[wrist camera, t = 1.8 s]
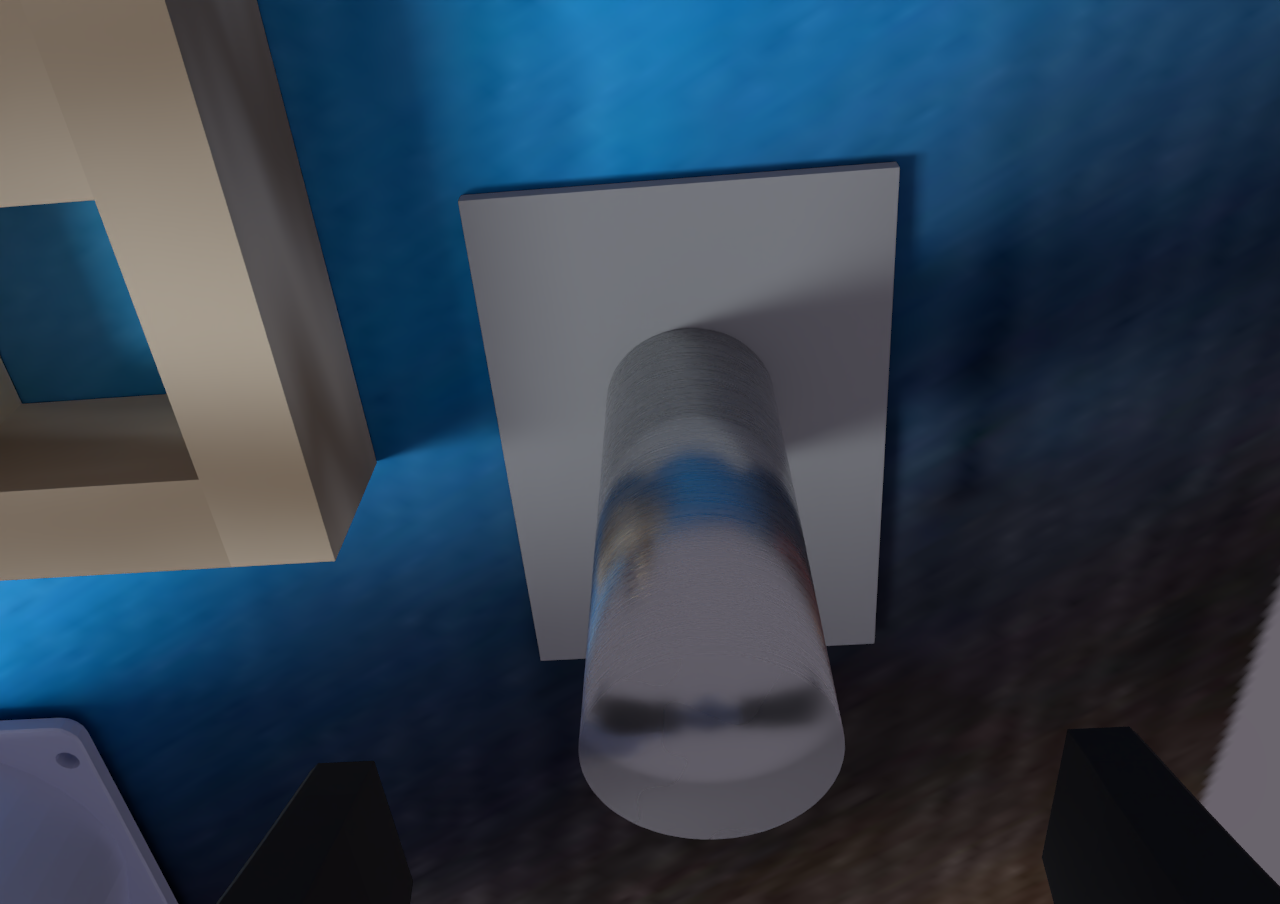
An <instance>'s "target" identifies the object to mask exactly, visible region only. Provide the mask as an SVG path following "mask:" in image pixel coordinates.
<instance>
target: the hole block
mask: <svg viewBox="0 0 1280 904" xmlns="http://www.w3.org/2000/svg"><path fill="white" fill-rule="evenodd" d="M89 200H95V203H96V205H97V208H98V211H99V213H100V216H101V219H102V221H103V224H104V227H105V229H106V232H107V235H108V237H109V240H110V243H111V245H112V248H113V251H114V253H115V256H116V259H117V261H118V264H119V267H120V270H121V272H122V275H123V278H124V280H125V283H126V286H127V288H128V291H129V294H130V296H131V299H132V302H133V304H134V307H135V310H136V312H137V315H138V318H139V320H140V323H141V326H142V328H143V331H144V334H145V336H146V339H147V342H148V345H149V347H150V350H151V353H152V355H153V358H154V361H155V363H156V366H157V369H158V371H159V374H160V377H161V379H162V382H163V385H164V387H165V390H166V393H167V394H161V395H146V396H132V397H117V398H102V399H87V400H72V401H58V402H43V403H28V404H22V403H21V401H20V398H19V396H18V394H17V392H16V390H15V388H14V385H13V383H12V381H11V379H10V377H9V375H8V372H7V370H6V368H5V366H4V364H3V362H2V359H1V357H0V581H1V580H18V579H35V578H53V577H70V576H87V575H104V574H122V573H139V572H156V571H173V570H191V569H208V568H225V567H242V566H260V565H277V564H294V563H311V562H329V561H335V560H336V558H337V555H338V553H339V551H340V548H341V546H342V544H343V541H344V539H345V536H346V534H347V532H348V529H349V527H350V525H351V522H352V520H353V518H354V515H355V513H356V510H357V508H358V506H359V503H360V501H361V499H362V496H363V494H364V492H365V489H366V487H367V484H368V482H369V480H370V477H371V475H372V473H373V470H374V468H375V465H376V463H377V462H376V458H375V454H374V450H373V446H372V442H371V439H370V435H369V431H368V427H367V423H366V419H365V415H364V412H363V408H362V404H361V400H360V396H359V392H358V389H357V385H356V381H355V377H354V373H353V369H352V365H351V362H350V358H349V354H348V350H347V346H346V342H345V338H344V335H343V331H342V327H341V323H340V319H339V315H338V311H337V308H336V304H335V300H334V296H333V292H332V288H331V285H330V281H329V277H328V273H327V269H326V265H325V261H324V258H323V254H322V250H321V246H320V242H319V238H318V234H317V231H316V227H315V223H314V219H313V215H312V211H311V207H310V204H309V200H308V196H307V192H306V188H305V184H304V181H303V177H302V173H301V169H300V165H299V161H298V157H297V154H296V150H295V146H294V142H293V138H292V134H291V130H290V127H289V123H288V119H287V115H286V111H285V107H284V103H283V100H282V96H281V92H280V88H279V84H278V80H277V77H276V73H275V69H274V65H273V61H272V57H271V53H270V50H269V46H268V42H267V38H266V34H265V30H264V26H263V23H262V19H261V15H260V11H259V7H258V3H257V0H0V207H12V206H25V205H38V204H51V203H64V202H76V201H89Z"/></svg>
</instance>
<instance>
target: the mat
mask: <svg viewBox="0 0 1280 904" xmlns="http://www.w3.org/2000/svg"><path fill="white" fill-rule="evenodd" d="M899 172H900V167H899V166H898V164H897V163H896V162H886V163H873V164H860V165H847V166H834V167H821V168H808V169H795V170H782V171H769V172H756V173H743V174H730V175H717V176H704V177H691V178H678V179H665V180H652V181H639V182H626V183H613V184H600V185H587V186H574V187H561V188H548V189H535V190H522V191H509V192H496V193H483V194H470V195H461V196H460V198H459V200H458V204H459V210H460V215H461V221H462V226H463V232H464V237H465V243H466V248H467V254H468V260H469V265H470V271H471V276H472V282H473V287H474V293H475V298H476V304H477V309H478V315H479V321H480V326H481V332H482V337H483V343H484V348H485V354H486V359H487V365H488V370H489V376H490V382H491V387H492V393H493V398H494V404H495V409H496V415H497V420H498V426H499V431H500V437H501V443H502V448H503V454H504V459H505V465H506V470H507V476H508V481H509V487H510V492H511V498H512V504H513V509H514V515H515V520H516V526H517V531H518V537H519V542H520V548H521V553H522V559H523V564H524V570H525V576H526V581H527V587H528V592H529V598H530V603H531V609H532V614H533V620H534V625H535V631H536V637H537V642H538V648H539V653H540V659H541V661H547V660H567V659H586V649H587V637H588V624H589V612H590V599H591V587H592V575H593V562H594V550H595V537H596V525H597V512H598V500H599V487H600V475H601V463H602V450H603V438H604V425H605V413H606V400H607V391H608V387H609V383H610V380H611V378H612V375H613V373H614V371H615V369H616V368H617V366H618V365H619V363H620V362H621V361H622V359H623V358H624V357H625V356H626V355H627V354H628V353H629V352H630V351H631V350H632V349H633V348H634V347H636V346H637V345H638V344H640V343H641V342H643V341H645V340H646V339H648V338H650V337H652V336H654V335H657V334H660V333H662V332H666V331H670V330H674V329H681V328H703V329H710V330H714V331H719V332H722V333H724V334H727V335H730V336H732V337H734V338H735V339H737V340H739V341H741V342H742V343H744V344H745V345H746V346H748V347H749V348H750V349H751V350H752V351H753V352H754V353H755V354H756V355H757V356H758V357H759V358H760V360H761V361H762V362H763V364H764V365H765V367H766V369H767V370H768V373H769V375H770V378H771V380H772V385H773V389H774V393H775V398H776V403H777V408H778V413H779V418H780V423H781V428H782V433H783V438H784V442H785V447H786V452H787V457H788V462H789V467H790V472H791V477H792V482H793V487H794V491H795V496H796V501H797V506H798V511H799V516H800V521H801V526H802V531H803V536H804V541H805V545H806V550H807V555H808V560H809V565H810V570H811V575H812V580H813V585H814V590H815V594H816V599H817V604H818V609H819V614H820V619H821V624H822V629H823V634H824V639H825V643H826V646H835V645H854V644H874V640H875V621H876V602H877V584H878V565H879V546H880V527H881V509H882V490H883V471H884V453H885V434H886V415H887V396H888V378H889V359H890V340H891V322H892V303H893V284H894V265H895V247H896V228H897V209H898V191H899Z"/></svg>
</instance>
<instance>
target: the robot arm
mask: <svg viewBox="0 0 1280 904" xmlns="http://www.w3.org/2000/svg"><path fill="white" fill-rule="evenodd" d="M1042 859H1043V863H1044V867H1045V871H1046V874H1047V878H1048V882H1049V886H1050V890H1051V893H1052V897H1053V901H1054V904H1280V886H1279V885H1278V884H1277V883H1276V882H1275V881H1274V880H1273V879H1272V878H1271V877H1270V876H1269V875H1268V874H1267V873H1266V872H1265V871H1264V870H1263V869H1262V868H1261V867H1260V866H1259V865H1258V864H1257V863H1256V862H1255V861H1254V860H1253V858H1252V857H1251V856H1250V855H1249V854H1248V853H1247V852H1246V851H1245V850H1244V849H1243V848H1242V847H1241V846H1240V845H1239V844H1238V843H1237V842H1236V841H1235V840H1234V838H1233V837H1232V836H1230V834H1229V833H1228V832H1227V831H1226V830H1225V829H1224V828H1223V827H1222V826H1221V825H1220V824H1219V823H1218V821H1217V820H1216V819H1215V818H1214V817H1213V816H1212V815H1211V814H1210V813H1209V812H1208V811H1207V810H1206V809H1205V808H1204V806H1203V805H1202V804H1201V803H1200V802H1199V801H1198V800H1197V799H1196V798H1195V797H1194V796H1193V795H1192V793H1191V792H1190V791H1189V790H1188V789H1187V788H1186V787H1185V786H1184V785H1183V784H1182V783H1181V781H1180V780H1179V779H1178V778H1177V777H1176V776H1175V775H1174V774H1173V773H1172V772H1171V770H1170V769H1169V768H1168V767H1167V766H1166V765H1165V764H1164V763H1163V762H1162V761H1161V759H1160V758H1159V757H1158V756H1157V755H1156V754H1155V753H1154V752H1153V751H1152V750H1151V748H1150V747H1149V746H1148V745H1147V744H1146V743H1145V742H1144V741H1143V740H1142V739H1141V738H1140V736H1139V735H1138V734H1137V733H1135V732H1134V731H1133V730H1132V729H1131V728H1130V727H1111V728H1089V729H1068V730H1067V735H1066V740H1065V745H1064V750H1063V755H1062V760H1061V765H1060V770H1059V775H1058V780H1057V785H1056V790H1055V795H1054V800H1053V805H1052V810H1051V815H1050V820H1049V825H1048V830H1047V835H1046V840H1045V845H1044V850H1043V855H1042ZM412 884H413V880H412V877H411V874H410V871H409V868H408V865H407V862H406V858H405V855H404V852H403V849H402V846H401V843H400V840H399V837H398V834H397V830H396V827H395V824H394V821H393V818H392V815H391V812H390V809H389V806H388V802H387V799H386V796H385V793H384V790H383V787H382V784H381V781H380V778H379V774H378V771H377V768H376V765H375V762H374V761H359V762H337V763H318V764H317V765H316V766H315V767H314V768H313V769H312V770H311V771H310V772H309V774H308V775H307V777H306V778H305V780H304V781H303V782H302V784H301V785H300V787H299V788H298V790H297V791H296V792H295V794H294V795H293V797H292V798H291V800H290V801H289V802H288V804H287V805H286V807H285V808H284V810H283V811H282V812H281V814H280V815H279V817H278V818H277V820H276V821H275V822H274V824H273V825H272V827H271V828H270V830H269V831H268V832H267V834H266V835H265V837H264V838H263V839H262V841H261V842H260V844H259V845H258V847H257V848H256V849H255V851H254V852H253V854H252V855H251V856H250V858H249V859H248V860H247V862H246V863H245V865H244V866H243V867H242V869H241V870H240V872H239V873H238V874H237V876H236V877H235V878H234V880H233V881H232V883H231V884H230V885H229V887H228V888H227V889H226V891H225V892H224V893H223V895H222V896H221V897H220V899H219V900H218V901H217V903H216V904H410V899H411V892H412ZM0 904H178V902H177V901H176V899H175V897H174V895H173V893H172V891H171V889H170V887H169V885H168V883H167V881H166V880H165V878H164V876H163V874H162V872H161V870H160V868H159V866H158V864H157V862H156V861H155V859H154V857H153V855H152V853H151V851H150V849H149V847H148V845H147V843H146V842H145V840H144V838H143V836H142V834H141V832H140V830H139V828H138V826H137V824H136V822H135V821H134V819H133V817H132V815H131V813H130V811H129V809H128V807H127V805H126V803H125V802H124V800H123V798H122V796H121V794H120V792H119V790H118V788H117V786H116V784H115V782H114V781H113V779H112V777H111V775H110V773H109V771H108V769H107V767H106V765H105V763H104V762H103V760H102V758H101V756H100V754H99V752H98V750H97V748H96V746H95V744H94V742H93V741H92V739H91V737H90V735H89V733H88V731H87V730H86V729H85V728H84V726H83V725H81V724H80V723H78V722H77V721H74V720H72V719H69V718H43V719H23V720H3V721H0Z"/></svg>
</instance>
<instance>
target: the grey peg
mask: <svg viewBox="0 0 1280 904" xmlns="http://www.w3.org/2000/svg"><path fill="white" fill-rule="evenodd" d="M844 752H845V739H844V732H843V727H842V722H841V717H840V712H839V707H838V702H837V697H836V692H835V688H834V683H833V678H832V673H831V668H830V663H829V658H828V653H827V648H826V643H825V639H824V634H823V629H822V624H821V619H820V614H819V609H818V604H817V599H816V594H815V590H814V585H813V580H812V575H811V570H810V565H809V560H808V555H807V550H806V545H805V541H804V536H803V531H802V526H801V521H800V516H799V511H798V506H797V501H796V496H795V491H794V487H793V482H792V477H791V472H790V467H789V462H788V457H787V452H786V447H785V442H784V438H783V433H782V428H781V423H780V418H779V413H778V408H777V403H776V398H775V393H774V389H773V385H772V380H771V378H770V375H769V373H768V370H767V369H766V367H765V365H764V364H763V362H762V361H761V360H760V358H759V357H758V356H757V355H756V354H755V353H754V352H753V351H752V350H751V349H750V348H749V347H748V346H746V345H745V344H744V343H742V342H741V341H739V340H737V339H735V338H734V337H732V336H730V335H727V334H724V333H722V332H719V331H714V330H710V329H703V328H681V329H674V330H670V331H666V332H662V333H660V334H657V335H654V336H652V337H650V338H648V339H646V340H645V341H643V342H641V343H640V344H638V345H637V346H636V347H634V348H633V349H632V350H631V351H630V352H629V353H628V354H627V355H626V356H625V357H624V358H623V359H622V361H621V362H620V363H619V365H618V366H617V368H616V369H615V371H614V373H613V375H612V378H611V380H610V383H609V387H608V391H607V400H606V413H605V425H604V438H603V450H602V463H601V475H600V487H599V500H598V512H597V525H596V537H595V550H594V562H593V575H592V587H591V599H590V612H589V624H588V637H587V649H586V662H585V674H584V686H583V699H582V711H581V724H580V736H579V761H580V765H581V768H582V772H583V774H584V776H585V778H586V781H587V783H588V784H589V786H590V787H591V789H592V790H593V792H594V793H595V794H596V795H597V796H598V798H599V799H600V800H601V801H602V802H603V803H604V804H605V805H607V806H608V807H609V808H610V809H611V810H613V811H614V812H615V813H617V814H618V815H620V816H622V817H623V818H625V819H626V820H628V821H630V822H632V823H634V824H636V825H639V826H641V827H644V828H646V829H649V830H652V831H655V832H658V833H662V834H666V835H670V836H676V837H682V838H691V839H727V838H736V837H741V836H747V835H752V834H755V833H759V832H763V831H766V830H769V829H772V828H774V827H777V826H780V825H782V824H784V823H786V822H788V821H790V820H792V819H794V818H796V817H797V816H799V815H800V814H802V813H804V812H805V811H807V810H808V809H809V808H810V807H812V806H813V805H814V804H816V803H817V802H818V801H819V800H820V799H821V798H822V797H823V796H824V795H825V794H826V792H827V791H828V790H829V788H830V787H831V786H832V784H833V783H834V781H835V779H836V777H837V776H838V774H839V772H840V769H841V766H842V763H843V759H844Z"/></svg>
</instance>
